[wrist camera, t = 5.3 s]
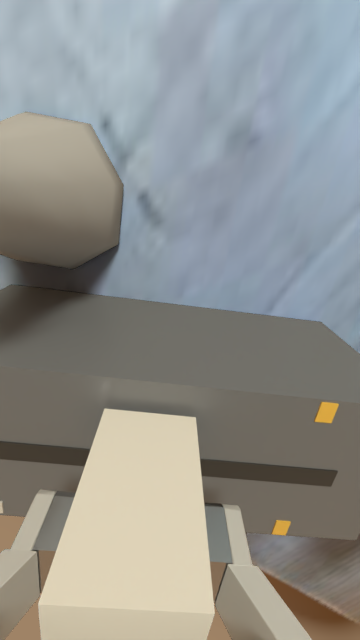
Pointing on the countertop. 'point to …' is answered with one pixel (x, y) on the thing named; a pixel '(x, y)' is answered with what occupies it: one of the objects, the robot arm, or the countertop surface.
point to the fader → (134, 538)
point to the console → (184, 402)
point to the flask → (56, 192)
